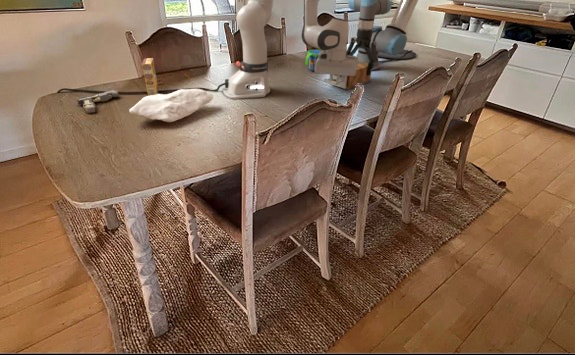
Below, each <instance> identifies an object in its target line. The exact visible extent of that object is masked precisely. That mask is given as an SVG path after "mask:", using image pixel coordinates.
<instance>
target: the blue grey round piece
mask: <svg viewBox="0 0 575 355" xmlns="http://www.w3.org/2000/svg"><path fill="white" fill-rule="evenodd" d="M408 51H409V50H408V49H405V48H404V49H403V51H402V52H401V53H400V54H398V55H388V54H385V53H381V52H378V57H380V58H386V59H397V58H399V60H404V59H405V60H406V59H412V58H415V57H416V56H417V54H416V52H414V51H412V52H409V53H407V54H406V55H405V56H404V57H402V56H403V55H404V54H405V53H406V52H408ZM400 57H402V58H400Z"/></svg>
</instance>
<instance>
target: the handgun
mask: <svg viewBox="0 0 575 355" xmlns="http://www.w3.org/2000/svg"><path fill="white" fill-rule="evenodd" d="M107 91H108V92H104V93H96V94H94V95H86V94H85V95H84V94H83V95H81V96H80V97H77V98H76V101H77V104H78V105H82V108H83V109H84V110H85V113H87V114H91V113H95V112H96V104H95V103H98V102H106V101H109V100H111V99H113V98H117V97H119V96H120V94H118V92H119V91H117V90H116V89H112V90H107Z"/></svg>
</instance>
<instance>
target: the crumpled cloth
mask: <svg viewBox="0 0 575 355" xmlns="http://www.w3.org/2000/svg"><path fill="white" fill-rule="evenodd" d="M180 89H181V90H177V91H172V92H171V93H167V94H163V93H158V94H156V95H150V96H148V95H146V96H144V97H142V98H141V99H140V100H139V101H138V102H137V103H136V104H134V105H133V106H132V107H131V108H129V114H130V115H135V116H140V117H145V118H146V119H149V120H152V121H155V120H158V121H163V122H166V123H174V122H176V121H178V120H181V119H183V118H185V117H188V116H190V115H192V114H193V113H195V112H196V111H197V110H199V109H200V108H202V107H204V106H206V105H207V104H210V102H211V101H212V100H213V99H214V98H213V97H214V96H213V94H212V93H210V92H209V91H207V90H202V89H186V88H180Z"/></svg>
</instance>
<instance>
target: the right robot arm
mask: <svg viewBox="0 0 575 355" xmlns="http://www.w3.org/2000/svg"><path fill="white" fill-rule="evenodd" d="M418 2H419V0H400V1H399V3H398V5H397V7H396V10H395V12H394V14H393V17H392V18H391V21H390V23H389V24H387V25H386V26H385V28H384V29H383V26H381V25H374V23H375V18H376V16H380V15H386V14H388V13H389V12H390V11H391V9H392V1H391V0H348V7H349V9H350V10H352V11H355V12H359V15H358V16H359V17H358V23H357V28H358V29H357V31H356V37H355V36H354V37H351V38H350V43H349V45H348V46H347V52H346V55H349V56H356V57H357V58H358V61H359V62H363V63H367V64H368V68H367V76H368V75H370V74H371V75H372V71H376V70H377V71H378V69H379V68H380V64H381V63H387V62H395V61H399V60H400V59H399V58H397V59H395V58H391V59H386V60H385V59H384V60H379V56H378V52H381V53H385V54H388V55H398V54H400V53H401V52H402V51H403V49H404V50H405V47H406V45H407V41H408V37H407V31H406V29H407V26H408V24H409V21H410V19H411V17H412V16H413V14H414V13H413V12H414V11H415V8H416V6H417V4H418ZM409 52H414V51H413V49H411V50H408V52H406V53H405V54H404V55H403V56H402V57H404V56H405V55H406V54H407V53H409ZM356 53H357V54H356ZM355 54H356V55H355ZM402 57H400V58H402ZM371 69H372V71H371Z"/></svg>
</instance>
